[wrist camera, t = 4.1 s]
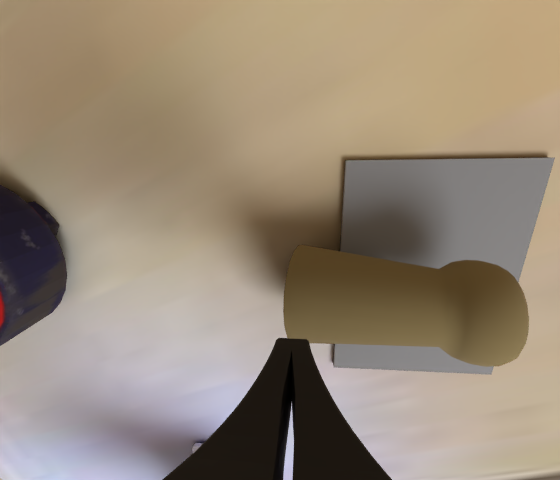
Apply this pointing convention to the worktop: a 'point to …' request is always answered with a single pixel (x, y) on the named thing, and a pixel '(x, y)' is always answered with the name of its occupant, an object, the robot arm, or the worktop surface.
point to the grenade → (27, 265)
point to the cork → (406, 305)
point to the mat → (437, 230)
